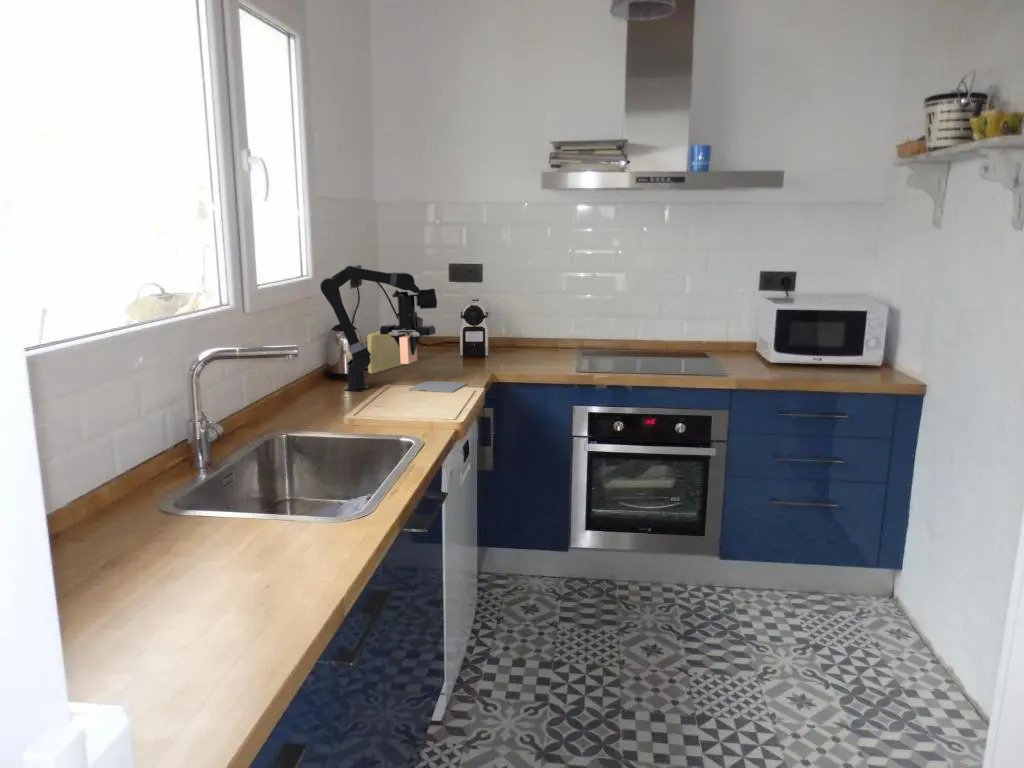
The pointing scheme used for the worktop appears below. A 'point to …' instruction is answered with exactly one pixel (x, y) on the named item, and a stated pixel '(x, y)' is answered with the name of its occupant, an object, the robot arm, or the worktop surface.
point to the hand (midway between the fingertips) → (408, 354)
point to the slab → (406, 350)
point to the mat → (438, 386)
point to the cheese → (383, 352)
